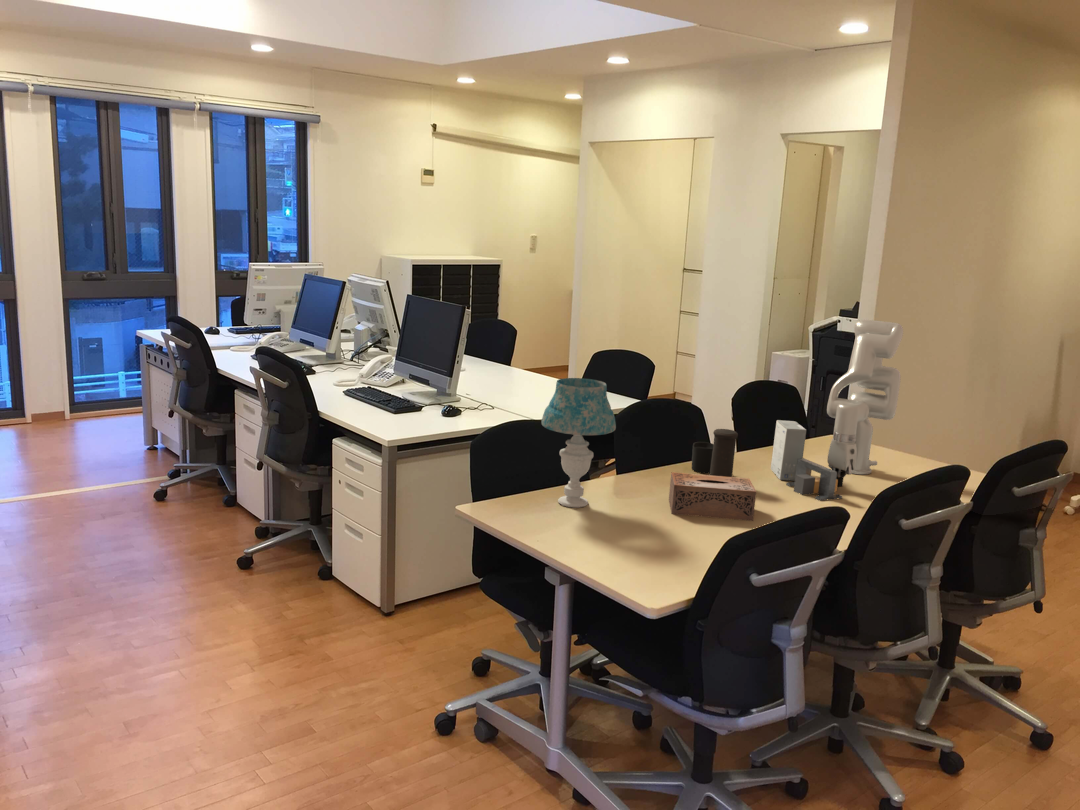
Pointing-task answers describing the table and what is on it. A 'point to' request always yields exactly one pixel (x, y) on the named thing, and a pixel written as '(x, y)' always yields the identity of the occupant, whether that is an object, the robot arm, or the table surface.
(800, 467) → the bracket
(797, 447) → the hard drive box
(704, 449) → the pen holder
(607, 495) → the table surface
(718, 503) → the tissue box cover
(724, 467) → the container
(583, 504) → the table lamp
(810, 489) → the plug
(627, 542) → the table surface
